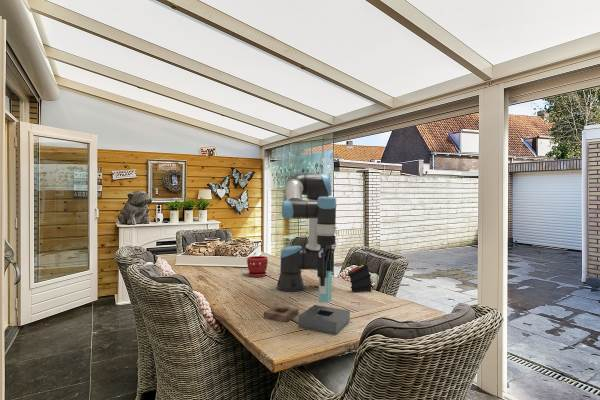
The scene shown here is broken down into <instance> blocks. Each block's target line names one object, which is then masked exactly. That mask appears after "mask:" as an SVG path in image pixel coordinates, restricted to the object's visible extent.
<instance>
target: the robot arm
mask: <svg viewBox="0 0 600 400" xmlns="http://www.w3.org/2000/svg"><path fill="white" fill-rule="evenodd" d="M284 192H285V194H286V197H285V199H286V200H282V201H281V217H282V218H283V219H308V243H307V244H306V245H305V248H303V247H302V246H301V245H289V246H285V247H283V248H281V249H280V257H279V258H280V268H279V269H280V271H279V272H280V273H279V278H278V280H277V282H276V283H277V284H276V288H277V290H279V291H282V292H299V291H303V290H304V289H305V283H304V280H303V276H302V270H303V271H304V270H305V271H306V270H307V271H308V270H309V271H310V270H311V271H316V273H317V275H316V276H317V278H319V277H320V294H327V278H326V271H332V276H334V264H335V263H334V261H335V259H334V256H335V255H334V254H335V248H333V246H335V245H336V236H335V234H336V230H337V229H338V228H337V226H336V221H337V220H336V215H337V214H336V213H337V200H336V199H337V198H336V197H334V196H332V192H333V191H332V181H331V178H330V175H328V173H302V172H301V173H296V174H294V175H292V176H291V177H289V178H288V179H287V180H286V181H285V184H284ZM303 196H306V199H307V200H303Z"/></svg>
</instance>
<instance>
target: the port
mask: <svg viewBox="0 0 600 400" xmlns="http://www.w3.org/2000/svg"><path fill="white" fill-rule="evenodd" d="M297 319H298V323H297V324H298V328H302V329H307V330H312V331H316V332H317V331H318V332H323V333H327V334H332V335H337V334H338V333H339V332H340V331H342V330H343V328H344V327H346V326H347V324H349V323H350V321H351V311H350V310H348V309H343V308H342V309H341V308H337V307H330V306H323V305H319V304H318V305H317V304H314V305H312V306H310V307H309V308H308V309H306V310H304V311H303V312H302V313H301V314H300V313H299V315H298V318H297Z"/></svg>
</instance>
